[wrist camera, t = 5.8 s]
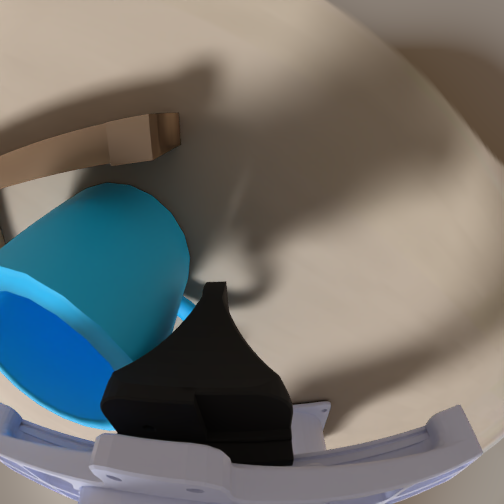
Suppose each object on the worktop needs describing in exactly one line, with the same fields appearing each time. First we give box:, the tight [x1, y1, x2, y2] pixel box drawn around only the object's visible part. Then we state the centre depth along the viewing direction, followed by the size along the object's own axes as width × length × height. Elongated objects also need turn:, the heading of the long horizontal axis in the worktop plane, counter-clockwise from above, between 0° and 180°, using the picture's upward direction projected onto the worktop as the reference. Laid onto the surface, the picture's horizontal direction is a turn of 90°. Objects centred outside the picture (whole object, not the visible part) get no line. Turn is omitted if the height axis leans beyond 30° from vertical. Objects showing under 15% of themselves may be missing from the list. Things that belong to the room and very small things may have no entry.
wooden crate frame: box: [0, 113, 181, 249], centre depth 13 cm, size 16×15×4 cm
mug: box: [0, 183, 196, 431], centre depth 12 cm, size 12×8×8 cm
